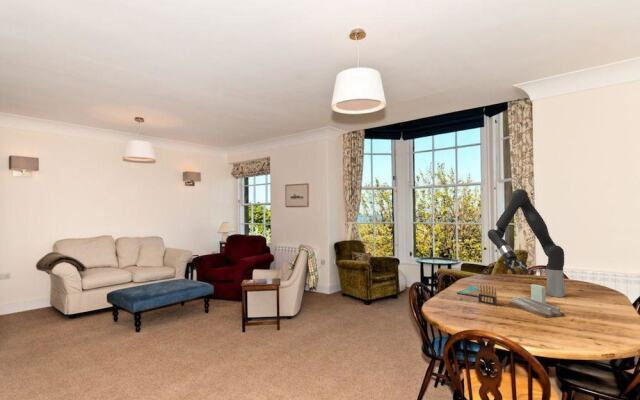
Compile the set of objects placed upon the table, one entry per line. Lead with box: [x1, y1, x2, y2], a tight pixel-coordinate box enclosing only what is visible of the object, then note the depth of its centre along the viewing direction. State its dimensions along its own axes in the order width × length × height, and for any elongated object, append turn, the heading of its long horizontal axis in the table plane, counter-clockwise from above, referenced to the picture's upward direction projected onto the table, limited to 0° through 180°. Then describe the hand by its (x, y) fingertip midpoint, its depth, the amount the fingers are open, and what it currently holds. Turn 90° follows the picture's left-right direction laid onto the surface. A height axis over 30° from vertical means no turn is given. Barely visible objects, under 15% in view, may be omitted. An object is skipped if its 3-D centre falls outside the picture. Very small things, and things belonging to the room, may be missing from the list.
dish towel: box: [456, 285, 494, 299], centre depth 240 cm, size 17×23×2 cm
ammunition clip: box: [478, 282, 498, 306], centre depth 214 cm, size 11×2×12 cm, turn 39°
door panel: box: [530, 284, 547, 304], centre depth 211 cm, size 3×8×11 cm, turn 12°
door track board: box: [508, 295, 566, 319], centre depth 199 cm, size 12×26×4 cm, turn 12°
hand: (521, 273), depth 224 cm, fingers open, 8 cm apart
